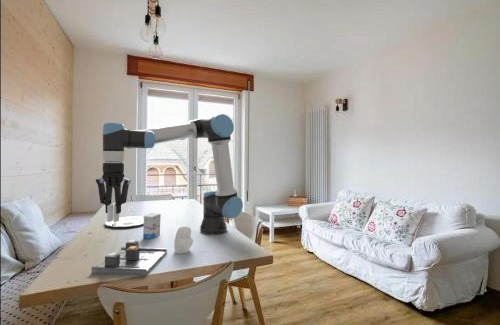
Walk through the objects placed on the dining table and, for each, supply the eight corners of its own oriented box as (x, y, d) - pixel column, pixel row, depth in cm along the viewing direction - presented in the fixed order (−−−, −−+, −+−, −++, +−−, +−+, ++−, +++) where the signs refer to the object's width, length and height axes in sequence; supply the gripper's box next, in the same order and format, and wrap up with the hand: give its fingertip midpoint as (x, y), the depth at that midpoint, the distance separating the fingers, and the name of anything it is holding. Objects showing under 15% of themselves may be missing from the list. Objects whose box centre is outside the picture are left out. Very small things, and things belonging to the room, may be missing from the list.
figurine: (182, 255, 114) (183, 228, 114) (170, 252, 118) (170, 225, 118) (194, 250, 120) (194, 224, 120) (182, 247, 124) (182, 222, 124)
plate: (154, 225, 161) (154, 222, 161) (108, 232, 146) (108, 228, 146) (144, 217, 181) (144, 214, 181) (102, 222, 167) (102, 219, 167)
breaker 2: (138, 250, 115) (138, 239, 115) (135, 252, 112) (135, 242, 112) (129, 249, 115) (129, 239, 115) (125, 252, 112) (125, 241, 112)
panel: (166, 253, 116) (166, 248, 116) (145, 275, 95) (145, 269, 95) (122, 252, 117) (122, 247, 117) (91, 273, 96) (91, 267, 96)
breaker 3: (139, 257, 107) (139, 246, 107) (135, 260, 104) (135, 248, 104) (129, 256, 107) (129, 245, 107) (125, 259, 104) (126, 248, 104)
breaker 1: (119, 264, 100) (119, 252, 100) (115, 268, 97) (115, 255, 97) (109, 264, 100) (109, 252, 100) (104, 267, 97) (104, 255, 97)
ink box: (151, 239, 134) (151, 216, 134) (142, 238, 135) (142, 215, 135) (160, 234, 143) (160, 213, 142) (152, 234, 144) (152, 212, 143)
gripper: (136, 162, 108) (135, 219, 109) (100, 161, 109) (100, 218, 110) (127, 163, 101) (126, 224, 102) (89, 162, 101) (89, 223, 102)
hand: (113, 221), depth 106 cm, fingers open, 2 cm apart
